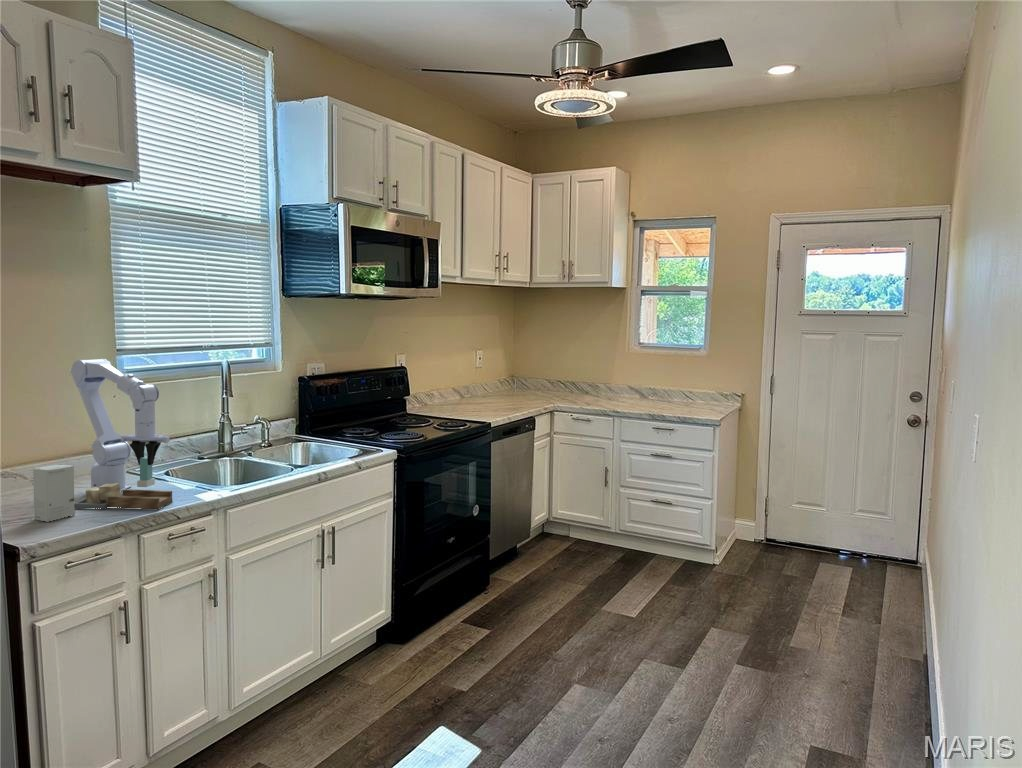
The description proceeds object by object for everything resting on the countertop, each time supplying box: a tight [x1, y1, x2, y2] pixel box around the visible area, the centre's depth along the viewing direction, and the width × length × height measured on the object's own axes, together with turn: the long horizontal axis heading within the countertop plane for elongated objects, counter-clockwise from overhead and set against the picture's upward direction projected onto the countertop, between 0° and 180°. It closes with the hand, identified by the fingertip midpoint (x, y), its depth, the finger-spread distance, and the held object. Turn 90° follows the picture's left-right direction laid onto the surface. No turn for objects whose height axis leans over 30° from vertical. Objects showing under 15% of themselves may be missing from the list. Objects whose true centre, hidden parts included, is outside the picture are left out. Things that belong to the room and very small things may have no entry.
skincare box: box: [32, 463, 76, 523], centre depth 196 cm, size 8×6×15 cm
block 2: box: [99, 483, 121, 500], centre depth 211 cm, size 4×4×4 cm
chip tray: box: [74, 493, 122, 510], centre depth 211 cm, size 10×12×2 cm
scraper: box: [136, 456, 156, 488], centre depth 221 cm, size 3×5×9 cm, turn 0°
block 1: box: [85, 487, 106, 503], centre depth 211 cm, size 4×4×4 cm
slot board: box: [108, 488, 173, 510], centre depth 211 cm, size 15×9×4 cm, turn 90°
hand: (145, 464), depth 220 cm, fingers closed on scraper, 2 cm apart
